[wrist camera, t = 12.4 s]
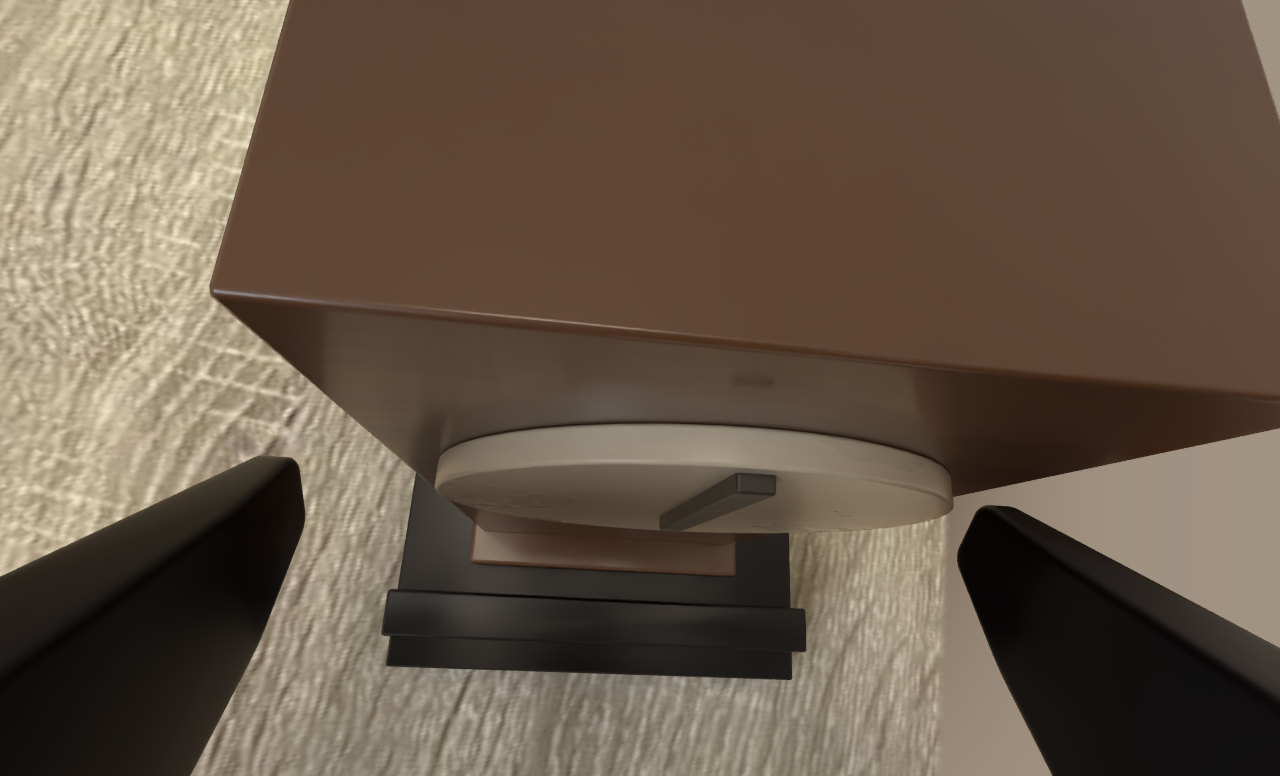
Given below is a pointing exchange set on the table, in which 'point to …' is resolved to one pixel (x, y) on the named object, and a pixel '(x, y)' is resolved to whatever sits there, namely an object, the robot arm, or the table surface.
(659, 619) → the clock rack
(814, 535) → the table surface
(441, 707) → the table surface
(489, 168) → the clock
